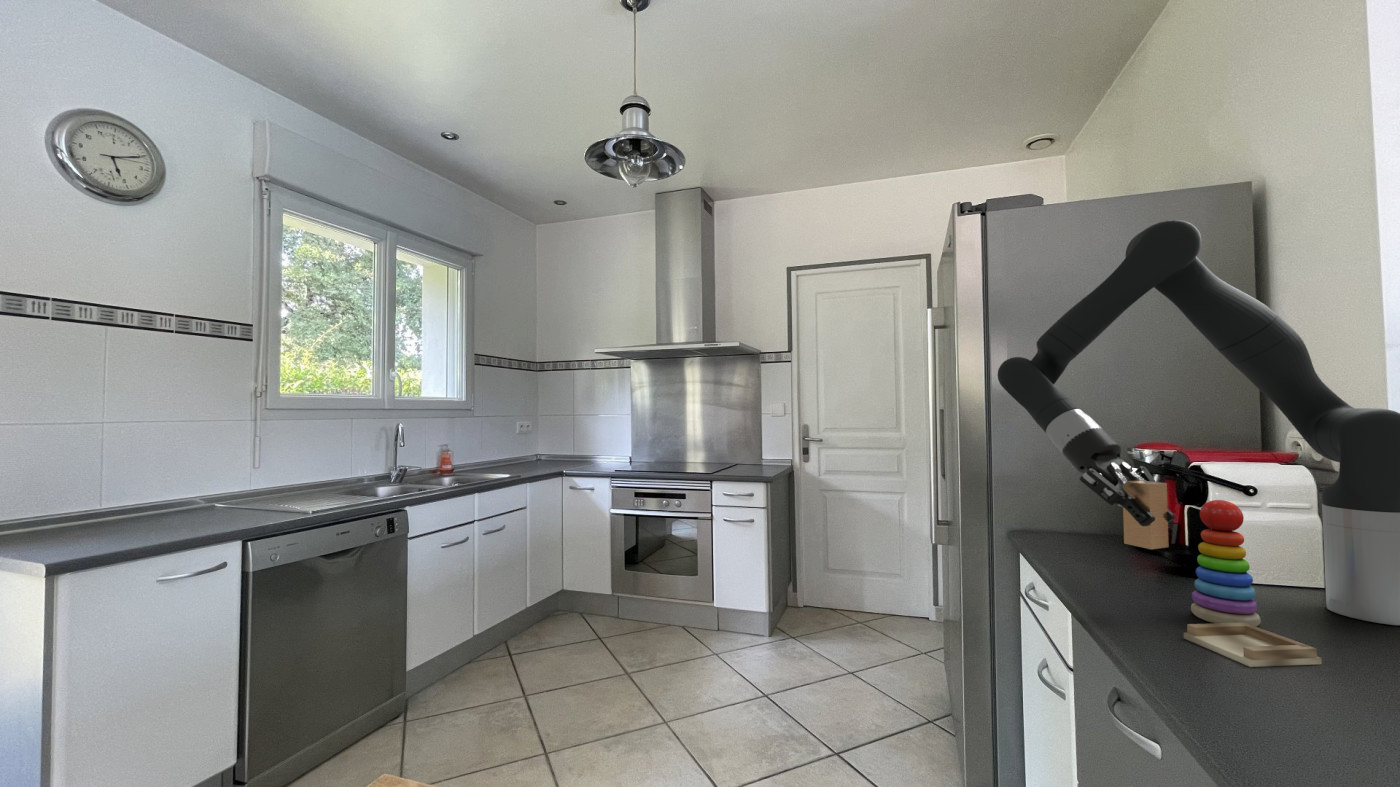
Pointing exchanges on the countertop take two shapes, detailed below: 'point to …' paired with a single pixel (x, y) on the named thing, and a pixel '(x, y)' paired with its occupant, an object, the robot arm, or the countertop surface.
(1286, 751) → the countertop surface
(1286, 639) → the wooden tray
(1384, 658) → the countertop surface
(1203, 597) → the stacking toy
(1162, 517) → the brown rectangular block
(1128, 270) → the robot arm
